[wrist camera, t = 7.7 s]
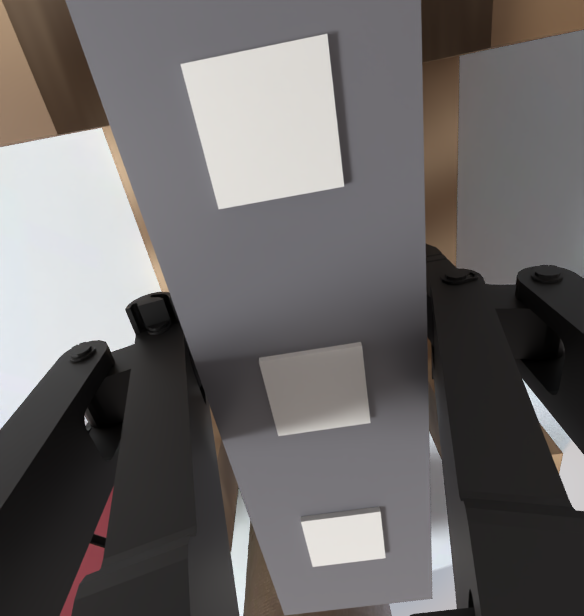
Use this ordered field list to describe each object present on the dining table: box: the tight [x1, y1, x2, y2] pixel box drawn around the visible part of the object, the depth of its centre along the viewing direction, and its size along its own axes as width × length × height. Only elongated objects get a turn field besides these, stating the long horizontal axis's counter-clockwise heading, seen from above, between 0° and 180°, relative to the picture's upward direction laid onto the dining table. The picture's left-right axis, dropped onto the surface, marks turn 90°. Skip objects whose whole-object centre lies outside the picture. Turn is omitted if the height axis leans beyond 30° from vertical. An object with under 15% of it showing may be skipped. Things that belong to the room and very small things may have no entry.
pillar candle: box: [243, 520, 392, 616], centre depth 26 cm, size 10×10×15 cm
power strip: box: [65, 0, 432, 615], centre depth 13 cm, size 19×5×10 cm, turn 10°
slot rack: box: [0, 0, 584, 552], centre depth 16 cm, size 22×16×12 cm
